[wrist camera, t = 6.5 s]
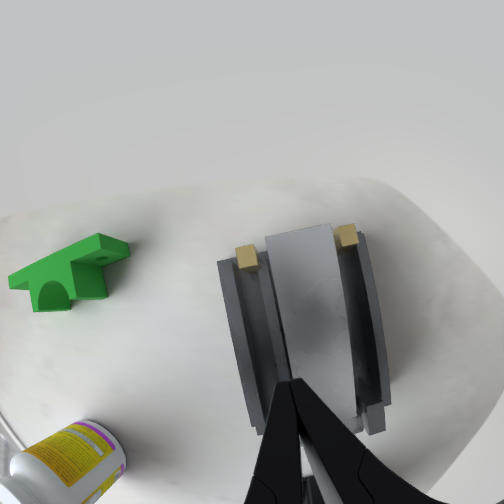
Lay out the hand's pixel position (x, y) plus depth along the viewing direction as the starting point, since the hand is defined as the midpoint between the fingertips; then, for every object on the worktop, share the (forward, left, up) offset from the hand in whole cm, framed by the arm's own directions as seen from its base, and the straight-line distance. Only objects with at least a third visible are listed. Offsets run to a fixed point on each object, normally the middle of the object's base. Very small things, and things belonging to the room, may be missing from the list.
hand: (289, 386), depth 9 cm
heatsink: (0, -2, -12) cm, 12 cm away
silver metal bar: (0, -2, -6) cm, 6 cm away
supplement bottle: (-9, +19, -12) cm, 24 cm away
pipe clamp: (+7, +16, -12) cm, 21 cm away
